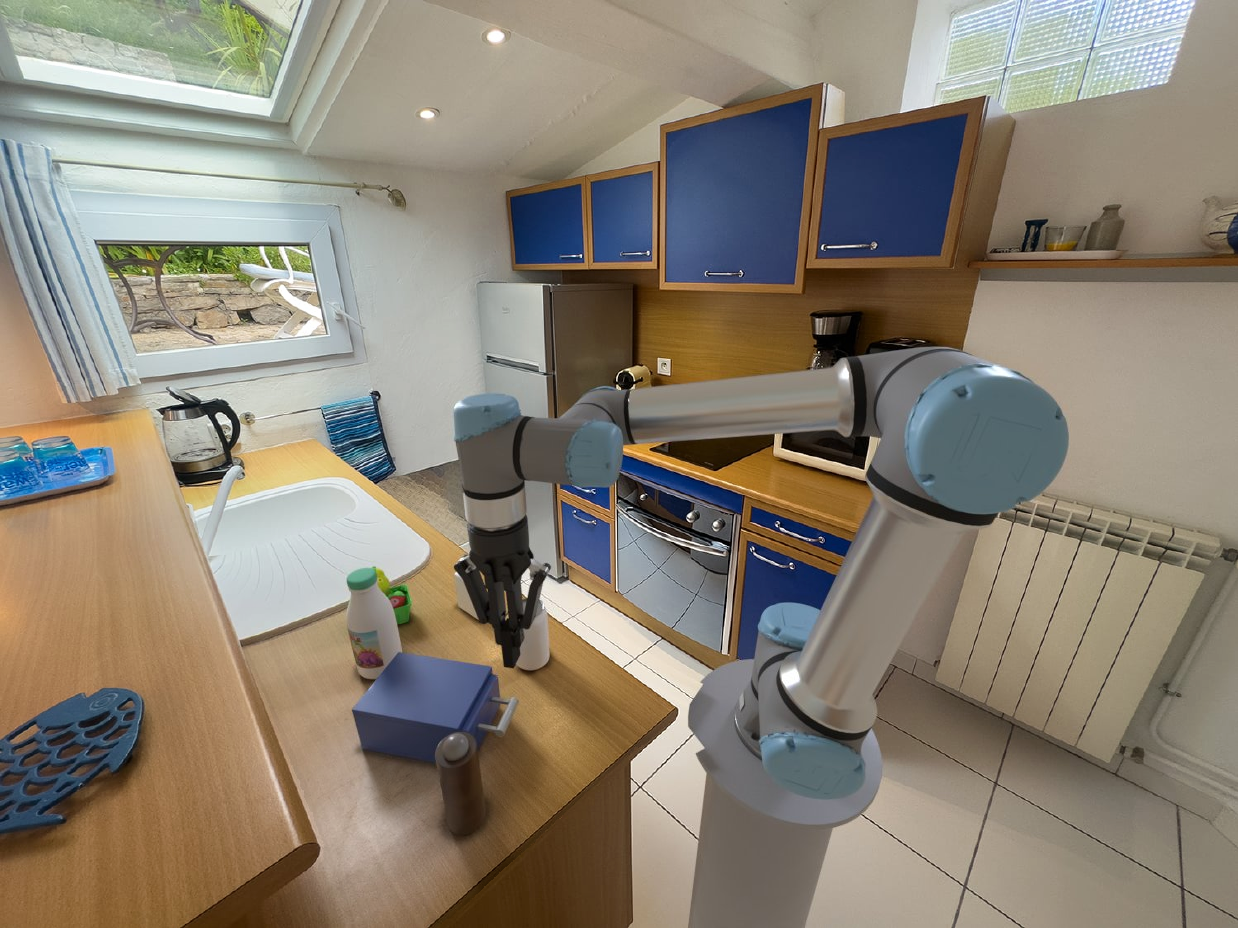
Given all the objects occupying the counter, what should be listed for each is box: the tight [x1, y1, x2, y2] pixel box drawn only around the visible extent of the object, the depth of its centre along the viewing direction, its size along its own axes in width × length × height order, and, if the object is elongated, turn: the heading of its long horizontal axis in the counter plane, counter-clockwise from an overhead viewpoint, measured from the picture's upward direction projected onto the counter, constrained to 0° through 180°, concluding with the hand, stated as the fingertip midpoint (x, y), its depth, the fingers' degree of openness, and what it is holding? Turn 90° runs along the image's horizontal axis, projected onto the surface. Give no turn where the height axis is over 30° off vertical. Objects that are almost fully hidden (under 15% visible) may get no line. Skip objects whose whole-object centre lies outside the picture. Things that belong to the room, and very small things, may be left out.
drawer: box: [461, 673, 520, 751], centre depth 77 cm, size 20×11×6 cm, turn 80°
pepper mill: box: [435, 732, 487, 837], centre depth 64 cm, size 5×5×15 cm
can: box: [516, 597, 550, 672], centre depth 91 cm, size 6×6×12 cm
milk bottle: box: [345, 567, 404, 680], centre depth 87 cm, size 8×8×20 cm
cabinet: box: [351, 651, 494, 764], centre depth 78 cm, size 17×12×8 cm
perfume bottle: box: [453, 571, 479, 621], centre depth 103 cm, size 8×2×12 cm, turn 52°
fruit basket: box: [347, 565, 412, 626], centre depth 100 cm, size 11×9×11 cm
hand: (512, 660), depth 71 cm, fingers closed
